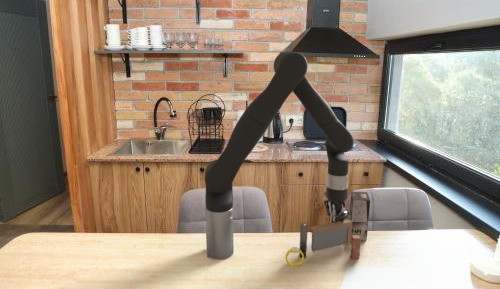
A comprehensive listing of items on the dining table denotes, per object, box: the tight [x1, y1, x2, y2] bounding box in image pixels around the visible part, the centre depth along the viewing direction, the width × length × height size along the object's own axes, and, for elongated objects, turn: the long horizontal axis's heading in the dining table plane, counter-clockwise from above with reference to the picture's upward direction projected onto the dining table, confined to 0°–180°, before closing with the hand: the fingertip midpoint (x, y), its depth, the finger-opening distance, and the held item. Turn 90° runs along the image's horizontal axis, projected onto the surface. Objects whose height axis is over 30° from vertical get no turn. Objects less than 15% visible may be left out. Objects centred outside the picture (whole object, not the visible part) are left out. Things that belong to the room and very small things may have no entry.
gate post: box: [298, 222, 308, 259], centre depth 118 cm, size 2×2×12 cm
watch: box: [285, 246, 305, 267], centre depth 113 cm, size 6×3×6 cm, turn 90°
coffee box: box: [348, 191, 371, 241], centre depth 132 cm, size 9×6×16 cm
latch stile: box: [349, 235, 362, 261], centre depth 117 cm, size 2×2×8 cm
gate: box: [309, 218, 352, 252], centre depth 121 cm, size 16×2×8 cm, turn 113°
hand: (334, 229), depth 127 cm, fingers closed
